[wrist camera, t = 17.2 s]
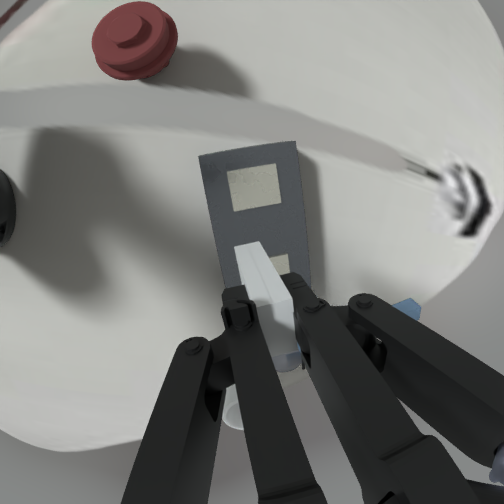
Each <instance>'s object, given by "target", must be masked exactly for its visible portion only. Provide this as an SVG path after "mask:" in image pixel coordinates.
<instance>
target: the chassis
mask: <svg viewBox="0 0 504 504" xmlns="http://www.w3.org/2000/svg"><path fill="white" fill-rule="evenodd" d="M198 158H199V163H200V168H201V173H202V179H203V184H204V189H205V194H206V199H207V204H208V209H209V214H210V218H211V223H212V228H213V233H214V237H215V242H216V247H217V251H218V256H219V260H220V265H221V269H222V274H223V278H224V283H225V287H226V288H231V287H235V286H239V285H242V282H241V278H240V273H239V268H238V264H237V259H236V254H235V249H234V247H235V246H240V245H244V244H249V243H253V242H258V241H259V242H260V244H261V245H262V247H263V249H264V250H265V252H266V254H267V256H268V257H269V259H270V261H271V262H272V264H273V266H274V267H275V269H276V271H277V273H278V274H279V275H283V274H287V273H291V272H295V273H297V274H299V275H301V276H302V278H303V279H304V280H305V282H306V283H307V284H308V286H309V287H310V289H311V279H310V266H309V254H308V242H307V232H306V222H305V212H304V203H303V194H302V186H301V178H300V170H299V162H298V155H297V148H296V141H285V142H277V143H269V144H262V145H256V146H249V147H243V148H237V149H231V150H225V151H220V152H215V153H210V154H205V155H200V156H198Z"/></svg>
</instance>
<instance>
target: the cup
mask: <svg viewBox="0 0 504 504" xmlns="http://www.w3.org/2000/svg"><path fill="white" fill-rule="evenodd" d="M222 418H223V420H224V422H225V423H226V424H227V425H228V426H230V427H232V428H235V429H239V430H244V428H243V423H242V418H241V413H240V408H239V402H238V397H237V392H236V386H235V384H233V385H231V386H229V387H227V388H226V397H225V403H224V409H223V415H222Z"/></svg>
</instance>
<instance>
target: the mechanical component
mask: <svg viewBox="0 0 504 504" xmlns="http://www.w3.org/2000/svg"><path fill="white" fill-rule="evenodd" d="M177 41H178V33H177V28H176V25H175V23H174V21H173V19H172V18H171V17H170V16H169V15H168V14H167V13H166V12H164V11H162V10H161V9H160V8H159V7H157V6H156V5H154V4H152V3H149V2H141V1H138V2H131V3H127V4H124V5H121V6H119V7H117V8H115V9H114V10H112V11H111V12H109V13H108V14H107V15H106V16H105V17H104V18H103V19H102V20H101V21H100V22H99V24H98V25H97V27H96V29H95V31H94V33H93V37H92V49H93V52H94V54H95V58H96V62H97V64H98V66H99V67H100V69H101V70H102V71H103V72H105V73H106V74H108V75H109V76H111V77H113V78H115V79H119V80H137V79H141V78H148V77H151V76H153V75H155V74H157V73H158V72H160V71H161V70H162V69H163V68H164V67H166V66H167V65H168V64H169V59H170V57H171V56H172V54H173V53H174V51H175V48H176V45H177Z"/></svg>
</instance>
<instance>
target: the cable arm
mask: <svg viewBox="0 0 504 504" xmlns="http://www.w3.org/2000/svg"><path fill="white" fill-rule="evenodd" d="M392 306H393V307H395V308H397V309H398V310H400V311H402V312H403V313H405V314H406V315H408V316H410V317H411V318H413V319H415V320H416V321H417V320H419V318H420V311H421V306H419V305H418V304H417V303H416V302H415V301H414V300H413V299H411V298H409V299H407V300H404V301H402V302H399V303H397V304H394V305H392ZM297 346H298V350H296V351H292V352H289V353H285V354H281V355H277V356H274V357H271V358H272V360H273V363H274V366H275V369H276V371H278V372H288V371H291V370H294V369H295V368H297V367H298V366H299V365H300V364H301V363H302V361H301V350H300V347H299V344H298V342H297Z"/></svg>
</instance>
